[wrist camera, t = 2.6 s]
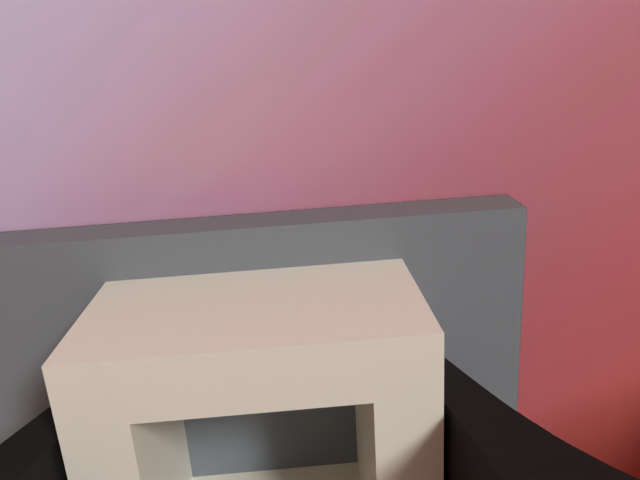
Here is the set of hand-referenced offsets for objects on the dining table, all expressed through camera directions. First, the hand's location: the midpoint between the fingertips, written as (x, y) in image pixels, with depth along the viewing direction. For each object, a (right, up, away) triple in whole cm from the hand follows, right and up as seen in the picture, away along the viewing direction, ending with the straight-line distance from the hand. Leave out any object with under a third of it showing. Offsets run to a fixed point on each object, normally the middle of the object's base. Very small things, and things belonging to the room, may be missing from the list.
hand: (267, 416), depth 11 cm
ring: (0, 0, +1) cm, 1 cm away
